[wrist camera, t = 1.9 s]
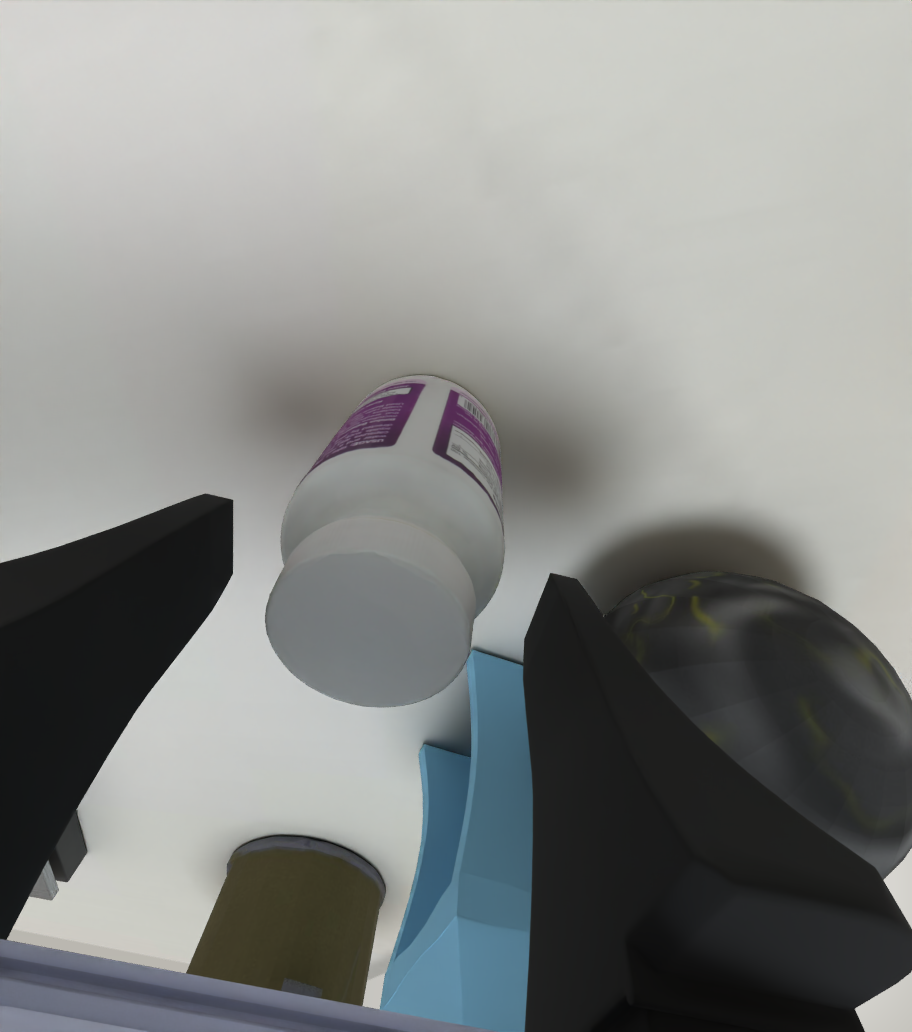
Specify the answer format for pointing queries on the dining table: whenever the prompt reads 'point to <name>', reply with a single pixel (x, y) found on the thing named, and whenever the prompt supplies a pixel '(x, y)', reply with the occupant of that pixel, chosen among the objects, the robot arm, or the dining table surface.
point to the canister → (293, 920)
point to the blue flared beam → (472, 869)
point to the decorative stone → (785, 699)
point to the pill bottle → (392, 547)
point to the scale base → (68, 851)
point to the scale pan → (45, 884)
